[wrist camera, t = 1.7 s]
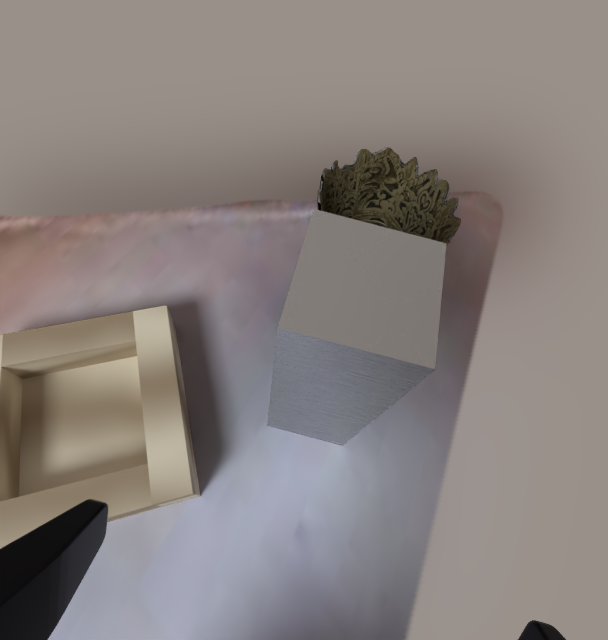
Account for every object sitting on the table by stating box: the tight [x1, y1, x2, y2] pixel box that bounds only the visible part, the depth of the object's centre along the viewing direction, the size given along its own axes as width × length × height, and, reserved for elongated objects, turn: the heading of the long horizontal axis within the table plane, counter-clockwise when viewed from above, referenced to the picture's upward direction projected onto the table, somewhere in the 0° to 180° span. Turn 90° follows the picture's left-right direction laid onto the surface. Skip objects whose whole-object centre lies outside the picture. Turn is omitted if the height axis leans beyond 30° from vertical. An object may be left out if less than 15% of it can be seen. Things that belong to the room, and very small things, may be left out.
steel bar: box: [267, 209, 447, 446], centre depth 17 cm, size 4×4×13 cm
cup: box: [317, 148, 461, 246], centre depth 24 cm, size 8×7×8 cm
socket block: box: [0, 305, 200, 549], centre depth 20 cm, size 10×10×3 cm
